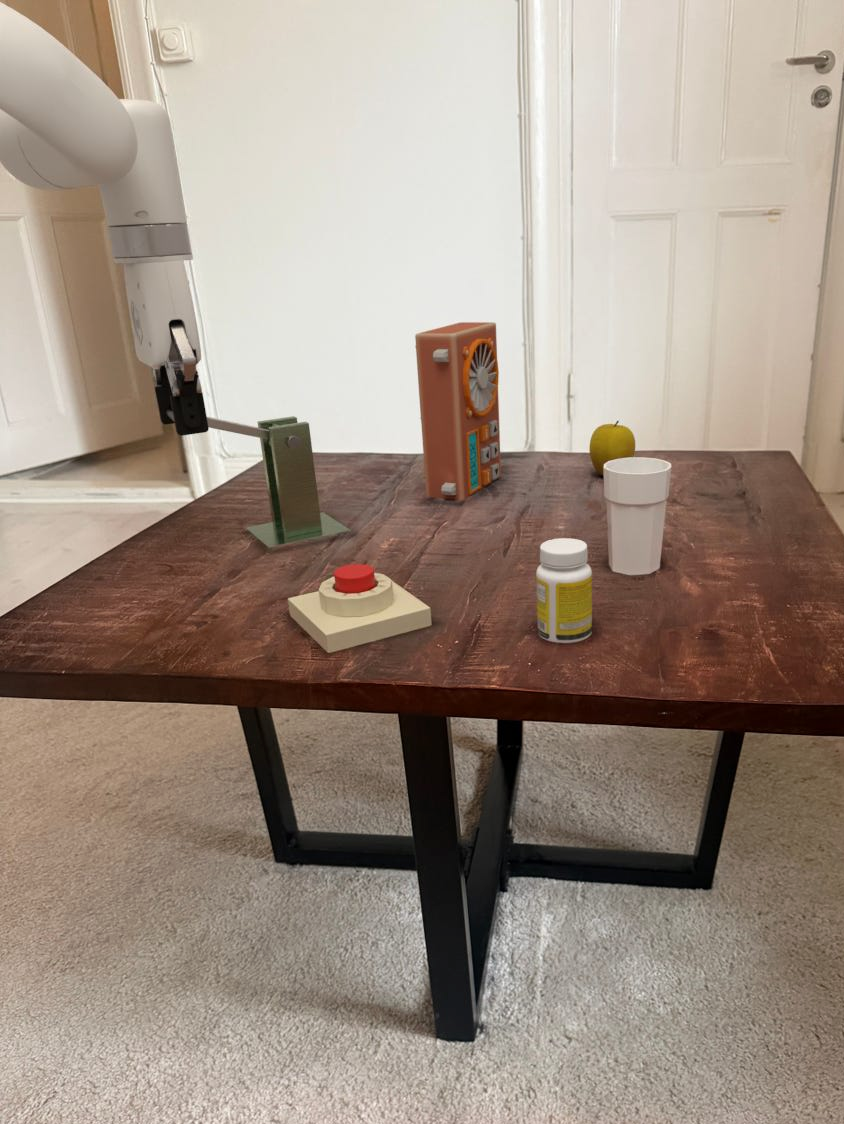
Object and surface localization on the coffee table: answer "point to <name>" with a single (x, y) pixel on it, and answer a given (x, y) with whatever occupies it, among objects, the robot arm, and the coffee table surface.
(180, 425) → the robot arm
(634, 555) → the cup
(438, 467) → the control panel
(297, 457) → the bracket
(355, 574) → the button
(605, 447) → the apple
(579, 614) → the supplement bottle
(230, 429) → the lever
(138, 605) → the coffee table surface
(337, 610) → the button block
